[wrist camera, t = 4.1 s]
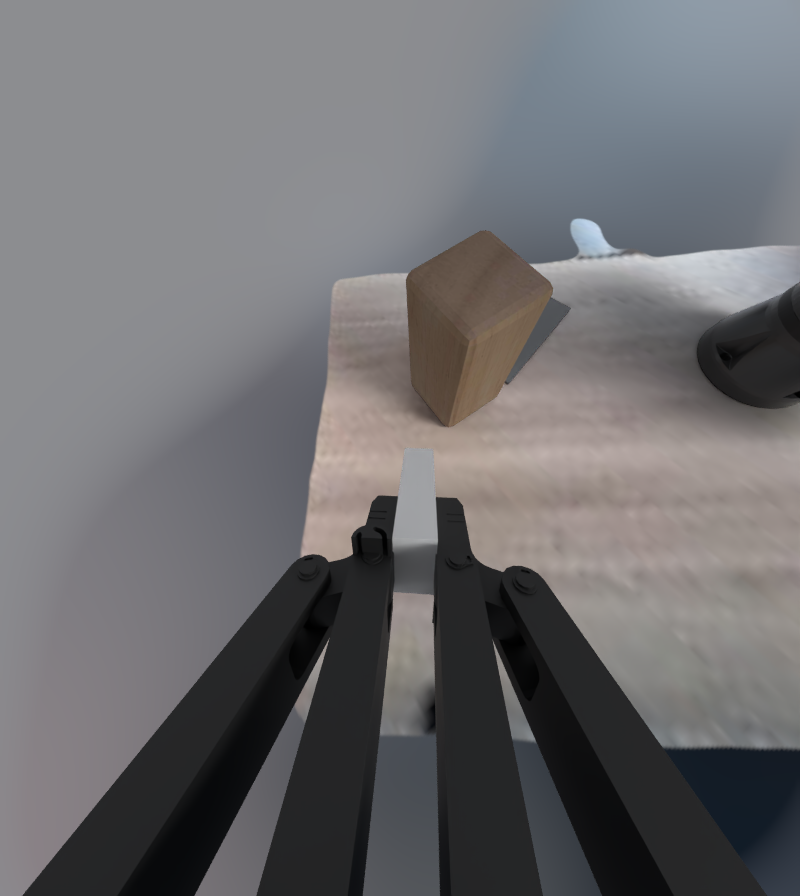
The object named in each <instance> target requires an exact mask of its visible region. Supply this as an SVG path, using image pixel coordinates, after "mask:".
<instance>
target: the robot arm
mask: <svg viewBox="0 0 800 896" xmlns="http://www.w3.org/2000/svg"><path fill="white" fill-rule="evenodd" d="M698 359H699V363H700V365H701V368H702V370H703V371H704V373H705V374H706V376H707V377H708V378H709V380H710V381H711V382H712V383H713V384H714V385H715V386H716V387H717V388H719V389H720V390H721V391H723V392H724V393H725V394H727V395H729V396H730V397H732V398H734V399H736V400H738V401H740V402H743V403H746V404H749V405H752V406H756V407H762V408H783V407H788V406H791V405H794V404H797V403H800V282H799V283H798V284H796V285H795V286H793V287H792V288H790V289H789V290H787V291H786V292H784V293H783V294H781V295H779V296H776V297H774V298H771V299H769V300H767V301H764V302H762V303H759V304H757V305H754V306H752V307H750V308H747V309H745V310H742V311H740V312H737V313H735V314H732V315H730V316H728V317H726V318H725V319H723V320H721V321H720V322H719V323H717V324H716V325H714V326H713V327H712V328H710V329H709V330H708V331H707V332H705V334H704V335H703V336H702V338H701V339H700V342H699V345H698ZM351 539H352V548H353V554H352V555H351V556H349V557H347V558H345V559H341V560H337V561H333V562H328V561H327V559H326V558H325V557H323V556H321V555H314V554H312V555H307V556H304V557H302V558H300V559H298V560H297V561H296V562H294V563H293V564H292V565H291V567H290V568H289V569H288V570H287V571H286V573H285V574H284V575H283V576H282V577H281V579H280V580H279V581H278V582H277V584H276V585H275V586H274V587H273V588H272V590H271V591H270V592H269V594H268V595H267V596H266V597H265V598H264V600H263V601H262V602H261V603H260V604H259V606H258V607H257V608H256V609H255V611H254V612H253V613H252V614H251V616H250V617H249V618H248V619H247V620H246V622H245V623H244V624H243V625H242V627H241V628H240V629H239V630H238V631H237V633H236V634H235V635H234V636H233V638H232V639H231V640H230V641H229V643H228V644H227V645H226V646H225V647H224V649H223V650H222V651H221V652H220V654H219V655H218V656H217V657H216V658H215V660H214V661H213V662H212V663H211V665H210V666H209V667H208V668H207V670H206V671H205V672H204V673H203V674H202V676H201V677H200V678H199V679H198V681H197V682H196V683H195V684H194V686H193V687H192V688H191V689H190V690H189V692H188V693H187V694H186V696H185V697H184V698H183V699H182V700H181V702H180V703H179V704H178V705H177V706H176V708H175V709H174V710H173V711H172V713H171V714H170V715H169V716H168V718H167V719H166V720H165V721H164V723H163V724H162V725H161V726H160V727H159V729H158V730H157V731H156V732H155V734H154V735H153V736H152V737H151V738H150V740H149V741H148V742H147V743H146V744H145V746H144V747H143V748H142V750H141V751H140V752H139V753H138V754H137V756H136V757H135V758H134V759H133V760H132V762H131V763H130V764H129V765H128V767H127V768H126V769H125V770H124V772H123V773H122V774H121V775H120V776H119V778H118V779H117V780H116V781H115V783H114V784H113V785H112V786H111V788H110V789H109V790H108V791H107V792H106V794H105V795H104V796H103V797H102V799H101V800H100V801H99V802H98V803H97V805H96V806H95V807H94V809H93V810H92V811H91V812H90V813H89V815H88V816H87V817H86V818H85V819H84V821H83V822H82V823H81V824H80V826H79V827H78V828H77V829H76V831H75V832H74V833H73V834H72V835H71V837H70V838H69V839H68V840H67V842H66V843H65V844H64V845H63V846H62V848H61V849H60V850H59V851H58V853H57V854H56V855H55V856H54V858H53V859H52V860H51V861H50V862H49V864H48V865H47V866H46V867H45V869H44V870H43V871H42V872H41V873H40V875H39V876H38V877H37V879H36V880H35V881H34V882H33V883H32V885H31V886H30V887H29V888H28V889H27V891H26V892H25V893H24V894H23V896H194V895H195V894H196V891H197V890H198V888H199V886H200V884H201V882H202V880H203V878H204V876H205V874H206V872H207V871H208V869H209V867H210V864H211V863H212V861H213V859H214V857H215V855H216V853H217V852H218V850H219V848H220V846H221V844H222V842H223V840H224V838H225V836H226V834H227V832H228V831H229V829H230V827H231V825H232V823H233V821H234V819H235V817H236V815H237V813H238V811H239V809H240V808H241V806H242V804H243V802H244V800H245V798H246V796H247V794H248V792H249V790H250V788H251V786H252V785H253V783H254V781H255V779H256V777H257V775H258V773H259V771H260V769H261V767H262V765H263V764H264V762H265V760H266V758H267V756H268V754H269V752H270V750H271V748H272V746H273V745H274V742H275V741H276V739H277V737H278V735H279V733H280V731H281V729H282V727H283V725H284V723H285V721H286V720H287V718H288V716H289V714H290V712H291V710H292V708H293V706H294V704H295V703H296V701H297V699H298V697H299V695H300V693H301V691H302V689H303V687H304V685H305V683H306V682H307V680H308V678H309V676H310V674H311V672H312V670H313V668H314V666H315V664H316V662H317V660H318V659H319V657H320V655H321V653H322V651H323V649H324V647H325V645H326V643H327V641H328V639H329V638H330V639H329V642H328V646H327V649H326V653H325V656H324V660H323V663H322V667H321V670H320V674H319V677H318V681H317V684H316V688H315V692H314V695H313V699H312V702H311V706H310V709H309V713H308V716H307V720H306V723H305V727H304V730H303V734H302V737H301V741H300V744H299V748H298V751H297V755H296V758H295V762H294V765H293V769H292V772H291V776H290V780H289V783H288V786H287V790H286V794H285V797H284V801H283V804H282V808H281V811H280V815H279V818H278V822H277V825H276V829H275V832H274V836H273V839H272V843H271V847H270V850H269V853H268V857H267V860H266V864H265V867H264V871H263V874H262V878H261V881H260V885H259V888H258V892H257V896H363V888H364V878H365V869H366V859H367V850H368V840H369V831H370V821H371V811H372V802H373V792H374V782H375V773H376V763H377V754H378V744H379V735H380V725H381V716H382V706H383V697H384V687H385V678H386V668H387V658H388V649H389V639H390V630H391V620H392V611H393V590H394V592H402V593H416V594H431V595H434V607H433V621H432V623H434V660H435V703H436V743H437V744H436V746H437V789H438V833H439V877H440V896H543V895H542V889H541V884H540V879H539V873H538V869H537V864H536V858H535V854H534V848H533V844H532V838H531V833H530V828H529V823H528V818H527V813H526V808H525V803H524V797H523V792H522V788H521V782H520V777H519V772H518V767H517V762H516V757H515V752H514V747H513V742H512V737H511V731H510V726H509V721H508V716H507V711H506V706H505V701H504V696H503V691H502V686H501V681H500V676H499V671H498V666H497V660H496V655H495V650H494V645H493V641H494V644H495V646H496V648H497V651H498V653H499V655H500V658H501V660H502V662H503V665H504V667H505V669H506V672H507V674H508V677H509V679H510V681H511V684H512V686H513V688H514V691H515V693H516V695H517V698H518V700H519V702H520V705H521V707H522V709H523V712H524V714H525V716H526V719H527V721H528V723H529V726H530V728H531V730H532V733H533V735H534V737H535V740H536V742H537V744H538V747H539V749H540V751H541V754H542V756H543V758H544V761H545V763H546V765H547V768H548V770H549V772H550V775H551V777H552V780H553V782H554V784H555V786H556V789H557V791H558V793H559V796H560V798H561V801H562V803H563V805H564V808H565V810H566V812H567V815H568V817H569V819H570V821H571V824H572V826H573V829H574V831H575V833H576V836H577V838H578V840H579V843H580V845H581V847H582V850H583V852H584V854H585V857H586V859H587V861H588V864H589V866H590V869H591V871H592V873H593V876H594V878H595V880H596V883H597V884H598V887H599V889H600V892H601V894H602V896H767V895H766V894H765V892H764V891H763V889H762V888H761V886H760V885H759V884H758V882H757V881H756V879H755V878H754V877H753V875H752V874H751V872H750V871H749V869H748V868H747V867H746V865H745V864H744V862H743V861H742V860H741V858H740V857H739V855H738V854H737V852H736V851H735V850H734V848H733V847H732V845H731V844H730V843H729V841H728V840H727V838H726V837H725V835H724V834H723V833H722V831H721V830H720V828H719V827H718V826H717V824H716V823H715V821H714V820H713V819H712V817H711V816H710V814H709V813H708V811H707V810H706V809H705V807H704V806H703V804H702V803H701V801H700V800H699V799H698V798H697V796H696V794H695V793H694V792H693V790H692V789H691V787H690V786H689V784H688V783H687V782H686V780H685V779H684V777H683V776H682V775H681V774H680V772H679V770H678V769H677V768H676V766H675V765H674V763H673V762H672V760H671V759H670V758H669V756H668V755H667V753H666V752H665V751H664V749H663V748H662V746H661V745H660V743H659V742H658V741H657V739H656V738H655V736H654V735H653V734H652V732H651V731H650V729H649V728H648V726H647V725H646V724H645V722H644V721H643V719H642V718H641V717H640V715H639V714H638V712H637V711H636V709H635V708H634V707H633V705H632V704H631V702H630V701H629V700H628V698H627V697H626V695H625V694H624V692H623V691H622V690H621V688H620V687H619V685H618V684H617V683H616V681H615V680H614V678H613V677H612V675H611V674H610V673H609V671H608V670H607V668H606V667H605V666H604V664H603V663H602V661H601V660H600V658H599V657H598V656H597V654H596V653H595V651H594V650H593V649H592V647H591V646H590V644H589V643H588V641H587V640H586V639H585V637H584V636H583V634H582V633H581V632H580V630H579V629H578V627H577V626H576V624H575V623H574V622H573V620H572V619H571V617H570V616H569V615H568V613H567V612H566V610H565V609H564V607H563V606H562V605H561V603H560V602H559V600H558V599H557V598H556V596H555V595H554V593H553V592H552V591H551V589H550V588H549V586H548V585H547V583H546V582H545V581H544V579H543V578H542V577H541V576H540V575H539V574H538V573H536V572H534V571H533V570H531V569H529V568H526V567H523V566H512V567H509V568H507V569H506V570H505V571H504V572H501V571H498V570H495V569H492V568H489V567H487V566H485V565H483V564H482V563H480V562H479V561H478V560H477V559H476V558H475V556H474V555H473V554H472V551H471V548H470V542H469V537H468V531H467V526H466V521H465V516H464V510H463V505H462V504H461V503H460V502H459V500H458V499H457V498H441V497H436V494H435V475H434V457H433V449H424V448H405V452H404V459H403V466H402V473H401V480H400V487H399V494H398V496H377V498H376V499H375V500H374V501H373V502H372V504H371V508H370V512H369V515H368V519H367V523H366V525H365V526H362V527H360V528H358V529H357V530H356V531H355V532H354V533H353V535H352V537H351ZM492 639H493V640H492Z"/></svg>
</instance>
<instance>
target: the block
mask: <svg viewBox="0 0 800 896" xmlns="http://www.w3.org/2000/svg"><path fill="white" fill-rule="evenodd" d="M406 289H407V308H408V328H409V348H410V367H411V382H412V386H413V387H414V388H415V390H416V391H417V392H418V393H419V395H420V396H421V397H422V398H423V400H424V401H425V402H426V403H427V405H428V406H429V407H430V408H431V410H432V411H433V412H434V413H435V415H436V416H437V417H438V418H439V420H440V421H441V422H442V423H443V424H444V425H445V426H447V427H451V426H454V425H455V424H457V423H458V422H460V421H461V420H463V419H464V418H466V417H467V416H469V415H470V414H472V413H473V412H475V411H476V410H478V409H479V408H481V407H482V406H484V405H485V404H487V403H488V402H490V401H491V400H493V399H494V398H496V397H497V395H498V393H499V392H500V390H501V388H502V386H503V384H504V382H505V380H506V379H507V377H508V375H509V373H510V371H511V369H512V368H513V366H514V364H515V362H516V360H517V358H518V356H519V355H520V353H521V351H522V349H523V347H524V345H525V343H526V342H527V340H528V338H529V336H530V334H531V332H532V330H533V329H534V327H535V325H536V323H537V321H538V319H539V317H540V316H541V314H542V312H543V310H544V308H545V306H546V305H547V303H548V301H549V299H550V297H551V295H552V292H553V287H552V285H551V283H550V282H549V281H548V280H547V279H546V278H545V277H543V276H542V275H541V274H540V273H539V272H537V271H536V270H535V269H534V268H533V267H532V266H530V265H529V264H528V263H527V262H526V261H524V260H523V259H522V258H521V257H520V256H519V255H517V254H516V253H515V252H514V251H513V250H512V249H510V248H509V247H508V246H507V245H506V244H505V243H503V242H502V241H501V240H500V239H499V238H497V237H496V236H495V235H494V234H493V233H491V232H490V231H486V230H485V231H479V232H478V233H476V234H474V235H472V236H471V237H469V238H467V239H465V240H464V241H462V242H460V243H458V244H457V245H455V246H453V247H451V248H450V249H448V250H446V251H445V252H443V253H441V254H439V255H438V256H436V257H434V258H432V259H431V260H429V261H427V262H425V263H424V264H422V265H420V266H418V267H417V268H415V269H414V270H412V271H411V272H410V273H409V274H408V276H407V279H406Z"/></svg>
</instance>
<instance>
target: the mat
mask: <svg viewBox="0 0 800 896" xmlns="http://www.w3.org/2000/svg"><path fill="white" fill-rule="evenodd" d="M570 309H571V308H570V307H568V306H566V305H564V304H562V303H560V302H558V301H556V300H555V299H553V298H551V297H550V299H549V301H548V303H547V305H546V306H545V308H544V310H543V312H542V314H541V316H540V317H539V319H538V321H537V323H536V325H535V327H534V329H533V330H532V332H531V334H530V336H529V338H528V340H527V342H526V343H525V345H524V347H523V349H522V351H521V353H520V355H519V356H518V358H517V360H516V362H515V364H514V366H513V368H512V369H511V371H510V373H509V375H508V377H507V379H506V380H505V383H507V384H509V383H510V382H511V381H512V379H513V378H514V377H515V376H516V375H517V373H518V372H519V371H520V370H521V368H522V367H523V366H524V365H525V364H526V362H527V361H528V360H529V359H530V357H531V356H532V355H533V354H534V353H535V351H536V350H537V349H538V348H539V347H540V345H541V344H542V343H543V342H544V340H545V339H546V338H547V337H548V336H549V334H550V333H551V332H552V331H553V329H554V328H555V327H556V326H557V325H558V323H559V322H560V321H561V320H562V319H563V317H564V316H565V315H566V314H567V312H568V311H569V310H570Z"/></svg>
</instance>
